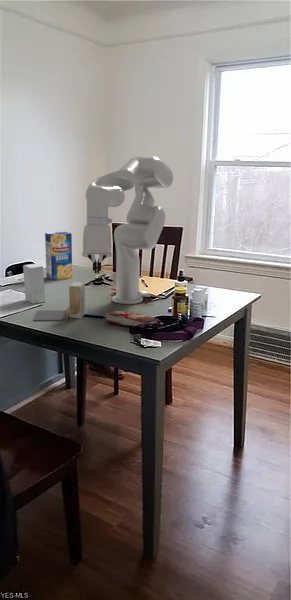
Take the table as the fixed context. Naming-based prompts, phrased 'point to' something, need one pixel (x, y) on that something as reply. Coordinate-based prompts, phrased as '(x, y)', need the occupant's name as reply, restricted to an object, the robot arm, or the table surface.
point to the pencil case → (129, 318)
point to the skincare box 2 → (77, 299)
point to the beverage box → (58, 255)
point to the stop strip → (67, 314)
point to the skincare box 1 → (34, 283)
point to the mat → (50, 315)
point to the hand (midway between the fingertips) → (96, 272)
